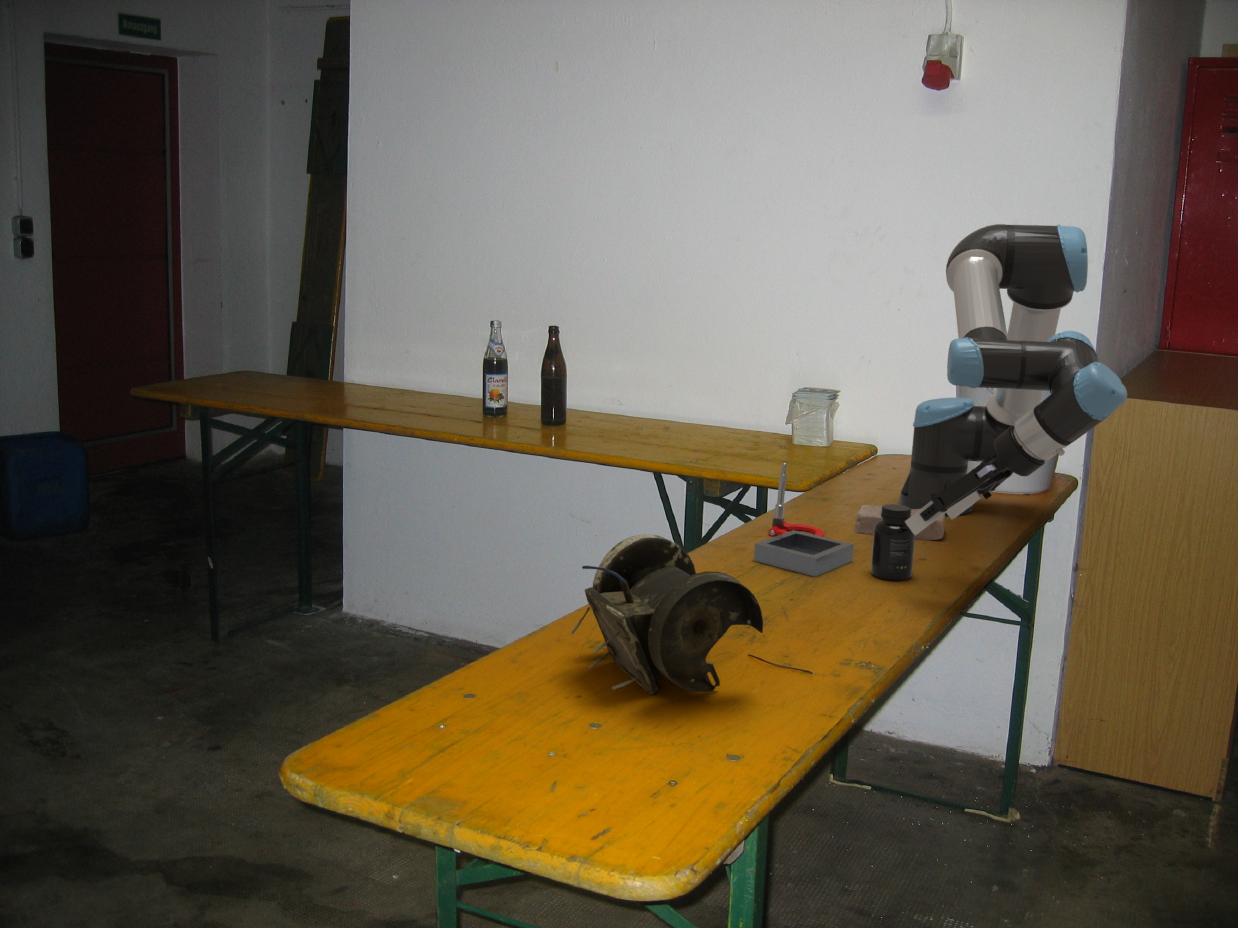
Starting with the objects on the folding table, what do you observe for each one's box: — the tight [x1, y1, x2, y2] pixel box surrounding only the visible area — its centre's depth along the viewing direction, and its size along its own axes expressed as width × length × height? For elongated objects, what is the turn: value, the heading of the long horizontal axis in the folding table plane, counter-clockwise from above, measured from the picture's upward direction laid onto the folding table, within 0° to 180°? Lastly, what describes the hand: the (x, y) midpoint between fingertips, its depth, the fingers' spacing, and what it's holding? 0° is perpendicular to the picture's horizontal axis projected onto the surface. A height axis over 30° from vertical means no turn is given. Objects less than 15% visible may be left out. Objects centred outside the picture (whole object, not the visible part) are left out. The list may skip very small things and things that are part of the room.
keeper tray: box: [753, 530, 855, 577], centre depth 192 cm, size 12×12×3 cm
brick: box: [854, 504, 946, 541], centre depth 212 cm, size 16×8×5 cm, turn 72°
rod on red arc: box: [768, 462, 826, 537], centre depth 207 cm, size 9×14×10 cm
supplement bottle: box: [870, 503, 916, 582], centre depth 184 cm, size 7×7×12 cm
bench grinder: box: [570, 533, 764, 695], centre depth 140 cm, size 20×22×20 cm
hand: (929, 520), depth 178 cm, fingers open, 13 cm apart
